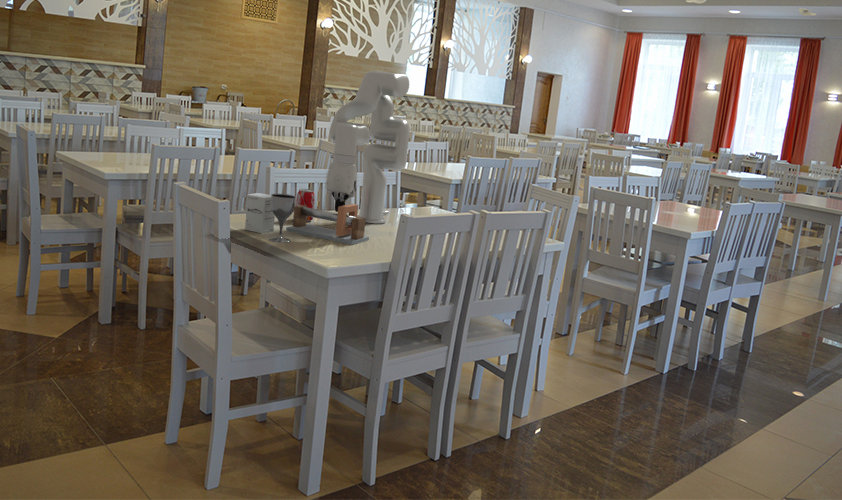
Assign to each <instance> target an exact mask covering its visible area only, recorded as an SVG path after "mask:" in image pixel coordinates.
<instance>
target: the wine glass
mask: <svg viewBox="0 0 842 500" xmlns="http://www.w3.org/2000/svg"><path fill="white" fill-rule="evenodd" d="M270 195H271V209H272V212H273V214H274V215H275V217H276V219H277V222H278V225H279V233H278V236H277V237H275V236H274V237H270V238H269V239H268V240H269V241H270V240H271V241H270V242H273V241H274V242H273V243H283V244H286V243H291V242H292V240H291V239H290V238H286V237H283V228H284V224H285V222H286V220H288V219H289V218H290V216H292V214H294V207H295V206H296V199H297V196H296V195H293V194H288V193H271V194H270Z"/></svg>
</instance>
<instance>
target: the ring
mask: <svg viewBox="0 0 842 500" xmlns="http://www.w3.org/2000/svg"><path fill="white" fill-rule="evenodd" d="M358 211H359V204H356V203H350V204H345V205H344V206H338V212H337V214H338V215H337V222H336V224H335V225H336V227H335V228H336V229H335V230H336V235H338V236H344V235H348V234H351V232H352V225H349V224H346V215H348V216H353V217H357V215H358ZM346 225H347V226H346Z"/></svg>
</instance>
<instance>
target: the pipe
mask: <svg viewBox="0 0 842 500" xmlns="http://www.w3.org/2000/svg"><path fill="white" fill-rule="evenodd" d="M301 214H302V215H305V216H310V217H313V218H314V219H320V220H325V221H330V222H335V223H337V215H338V212H332V211H327V210H322V209H317V208H314V209H312V208H307V207H303V208H302V210H301ZM353 218H355V217H353V216H349V214H347V215H346V225H348V224H349V225H352V221H353Z"/></svg>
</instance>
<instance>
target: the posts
mask: <svg viewBox="0 0 842 500" xmlns="http://www.w3.org/2000/svg"><path fill="white" fill-rule="evenodd" d="M303 207H307V206H304V205H300V206H296V205H295V207H294V210H293V218H292V226H293V227H303V226H306V224H307V222H306V218H307V216H305V215H302V214H301V210H302V208H303ZM365 220H366V218H365V217H355V218H353V221H352V232H351V239H355V240H358V239H362V238H364V236H365V228H366V227H365V226H366V222H365Z"/></svg>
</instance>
